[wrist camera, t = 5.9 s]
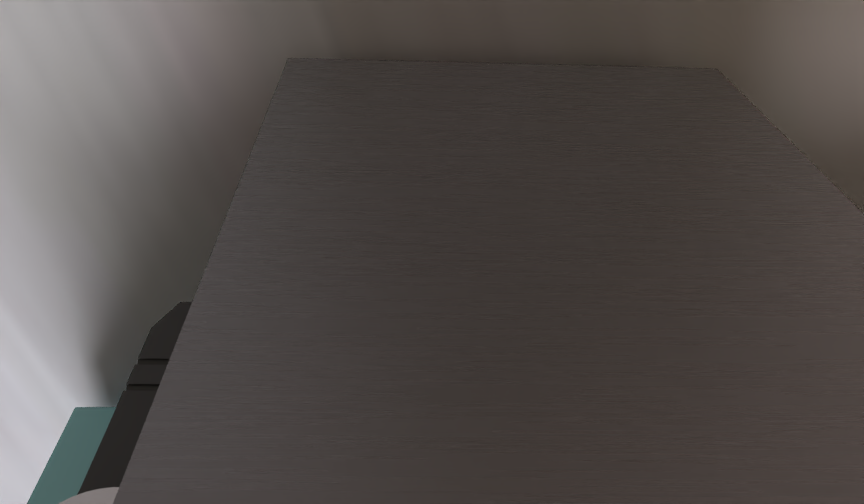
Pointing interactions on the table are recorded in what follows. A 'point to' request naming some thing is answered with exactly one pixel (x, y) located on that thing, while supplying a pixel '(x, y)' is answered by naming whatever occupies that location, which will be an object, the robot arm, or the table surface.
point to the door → (72, 455)
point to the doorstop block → (517, 300)
